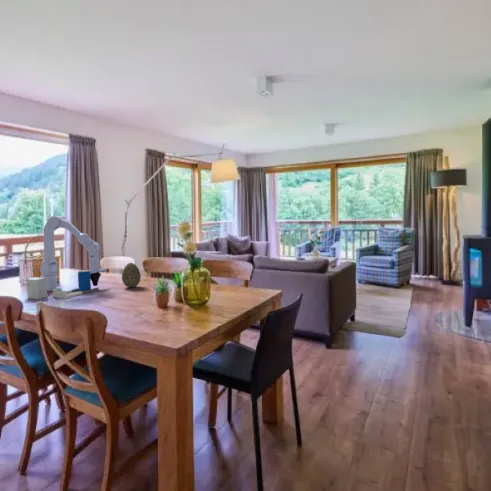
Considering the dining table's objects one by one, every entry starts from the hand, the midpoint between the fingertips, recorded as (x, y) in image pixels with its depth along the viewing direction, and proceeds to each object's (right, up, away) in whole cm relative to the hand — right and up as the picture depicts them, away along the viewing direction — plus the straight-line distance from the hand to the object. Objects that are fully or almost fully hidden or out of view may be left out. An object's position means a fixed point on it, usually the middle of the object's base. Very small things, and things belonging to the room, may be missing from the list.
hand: (95, 285), depth 218 cm
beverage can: (-3, -3, -6) cm, 8 cm away
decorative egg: (+21, -2, +3) cm, 21 cm away
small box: (-23, -4, -20) cm, 31 cm away
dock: (-6, -3, -11) cm, 13 cm away
